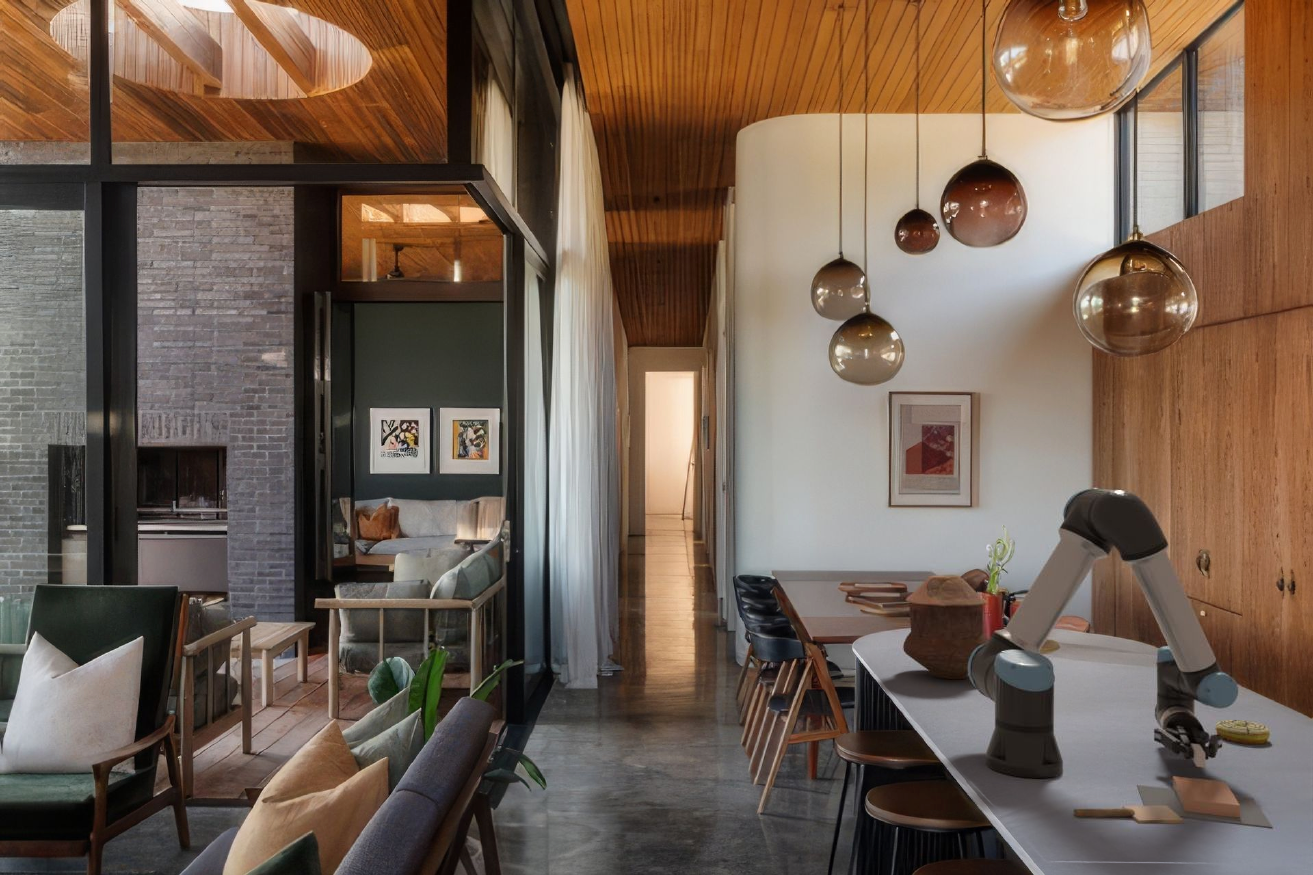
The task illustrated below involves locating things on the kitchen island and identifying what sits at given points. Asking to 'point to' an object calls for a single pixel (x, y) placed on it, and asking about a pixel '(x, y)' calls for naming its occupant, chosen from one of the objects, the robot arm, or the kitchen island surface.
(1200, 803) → the tile
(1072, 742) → the kitchen island surface
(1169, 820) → the wooden turner
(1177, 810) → the mat
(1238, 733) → the decorated donut
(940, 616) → the pottery vessel
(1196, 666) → the robot arm
